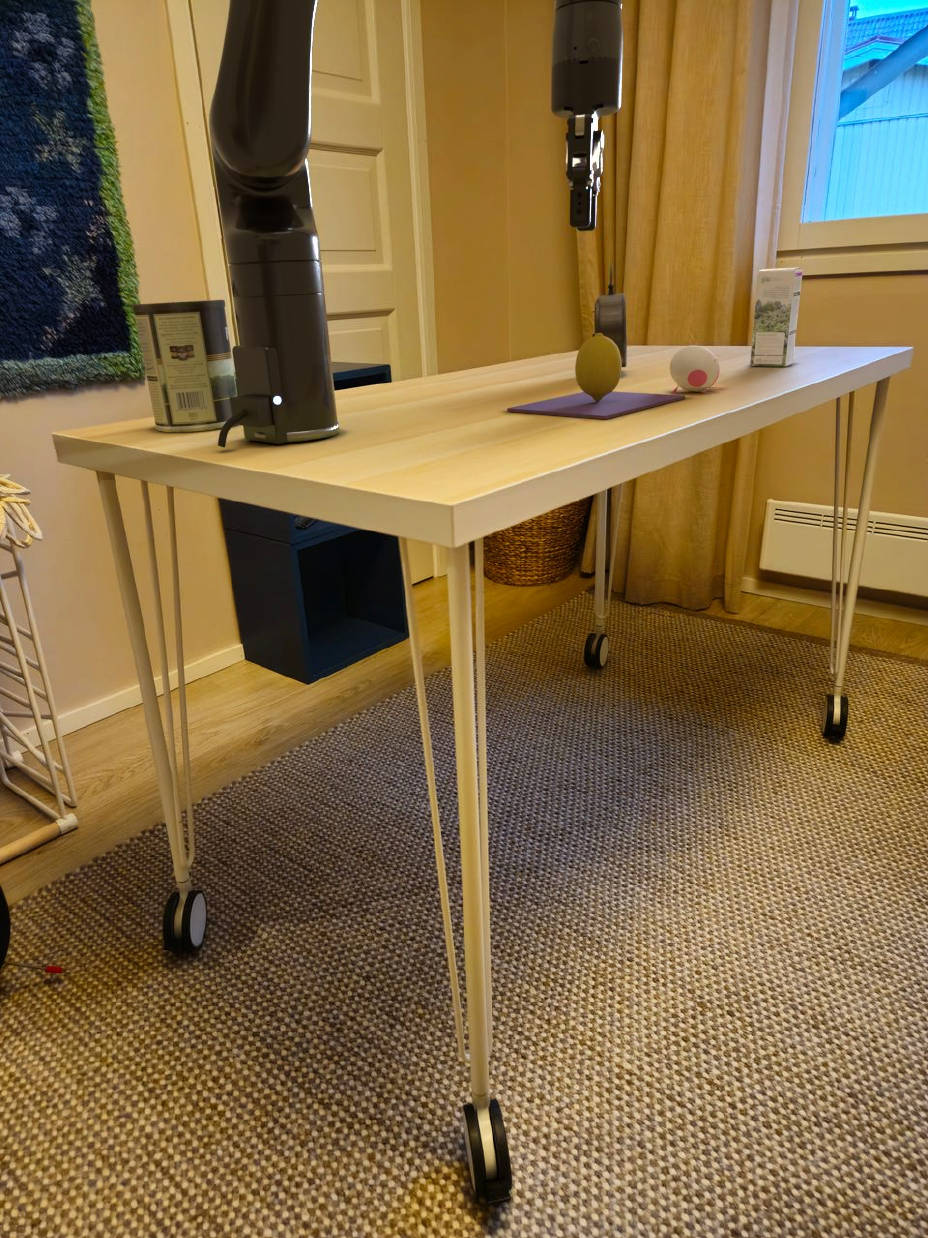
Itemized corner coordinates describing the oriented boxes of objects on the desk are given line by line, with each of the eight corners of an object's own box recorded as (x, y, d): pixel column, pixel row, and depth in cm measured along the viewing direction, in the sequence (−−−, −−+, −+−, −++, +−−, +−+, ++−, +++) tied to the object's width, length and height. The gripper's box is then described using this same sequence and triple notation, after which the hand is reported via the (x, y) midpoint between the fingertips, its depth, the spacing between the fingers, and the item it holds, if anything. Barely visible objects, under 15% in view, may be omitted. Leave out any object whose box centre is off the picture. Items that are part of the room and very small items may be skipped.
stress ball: (717, 419, 107) (748, 373, 106) (672, 386, 104) (703, 339, 103) (691, 409, 114) (720, 366, 112) (648, 378, 111) (677, 333, 109)
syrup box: (794, 363, 135) (804, 266, 129) (785, 367, 130) (795, 267, 125) (758, 363, 138) (766, 268, 132) (748, 366, 133) (756, 269, 128)
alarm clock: (625, 378, 126) (628, 262, 120) (589, 379, 127) (591, 264, 121) (627, 370, 136) (630, 263, 130) (594, 371, 137) (595, 265, 131)
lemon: (588, 397, 105) (589, 331, 102) (628, 399, 102) (630, 330, 99) (566, 403, 101) (566, 334, 98) (607, 405, 98) (609, 334, 95)
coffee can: (222, 416, 107) (205, 299, 102) (256, 424, 99) (238, 298, 94) (142, 426, 101) (119, 304, 96) (171, 435, 94) (148, 303, 88)
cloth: (605, 419, 91) (605, 415, 91) (507, 411, 100) (507, 408, 99) (685, 398, 103) (685, 395, 103) (591, 393, 112) (591, 390, 112)
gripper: (558, 79, 96) (557, 233, 102) (543, 48, 83) (542, 227, 89) (624, 74, 94) (619, 230, 100) (619, 41, 81) (613, 223, 87)
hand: (583, 228), depth 94 cm, fingers open, 8 cm apart
